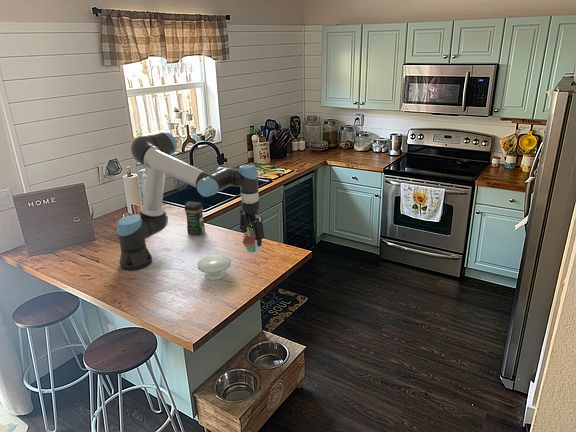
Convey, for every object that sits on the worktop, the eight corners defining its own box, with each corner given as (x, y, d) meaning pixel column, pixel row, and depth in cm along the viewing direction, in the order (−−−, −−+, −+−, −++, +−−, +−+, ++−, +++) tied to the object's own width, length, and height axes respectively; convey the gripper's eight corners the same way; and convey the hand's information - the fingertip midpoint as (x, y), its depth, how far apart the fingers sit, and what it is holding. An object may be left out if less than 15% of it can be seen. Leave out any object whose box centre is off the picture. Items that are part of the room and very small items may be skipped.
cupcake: (245, 255, 191) (243, 230, 187) (241, 247, 199) (240, 223, 195) (264, 253, 194) (263, 228, 189) (260, 245, 201) (259, 221, 197)
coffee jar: (185, 234, 246) (181, 203, 239) (193, 229, 253) (189, 199, 246) (200, 236, 242) (196, 205, 236) (207, 231, 249) (204, 200, 242)
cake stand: (209, 286, 191) (207, 273, 189) (193, 274, 202) (191, 261, 200) (238, 275, 200) (237, 262, 198) (221, 264, 211) (219, 251, 209)
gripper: (271, 205, 182) (273, 254, 190) (243, 193, 197) (246, 238, 206) (257, 209, 178) (259, 259, 186) (229, 196, 193) (233, 243, 201)
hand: (252, 248), depth 196 cm, fingers closed on cupcake, 8 cm apart
